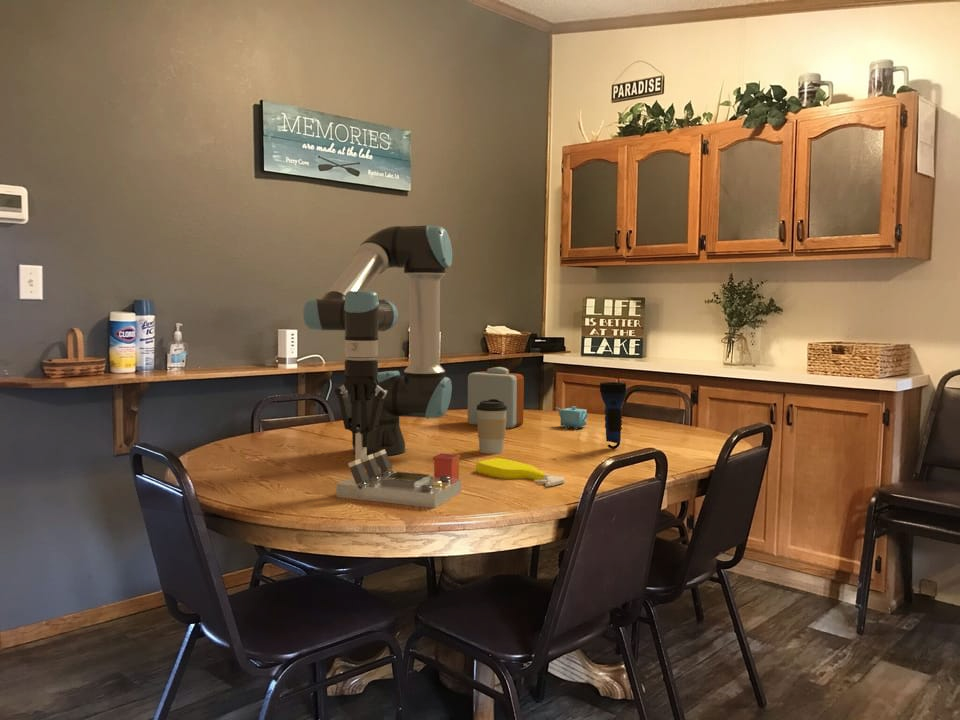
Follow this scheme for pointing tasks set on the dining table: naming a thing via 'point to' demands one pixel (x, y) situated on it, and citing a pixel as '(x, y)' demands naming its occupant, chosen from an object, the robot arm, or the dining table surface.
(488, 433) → the coffee cup
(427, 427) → the dining table surface
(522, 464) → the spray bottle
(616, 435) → the flashlight
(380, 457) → the breaker
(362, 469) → the breaker
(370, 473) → the breaker
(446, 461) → the lockout cap
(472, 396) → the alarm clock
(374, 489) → the panel
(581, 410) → the teapot
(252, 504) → the dining table surface
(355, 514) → the dining table surface
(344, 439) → the dining table surface
